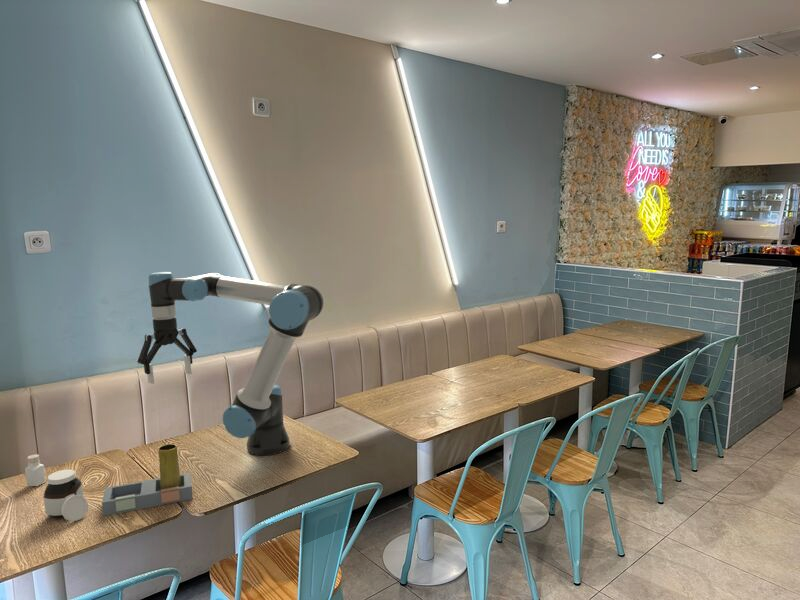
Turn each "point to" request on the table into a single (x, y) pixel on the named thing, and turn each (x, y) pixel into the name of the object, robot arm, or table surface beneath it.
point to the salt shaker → (35, 471)
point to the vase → (169, 466)
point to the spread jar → (65, 496)
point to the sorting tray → (144, 495)
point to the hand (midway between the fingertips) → (170, 378)
